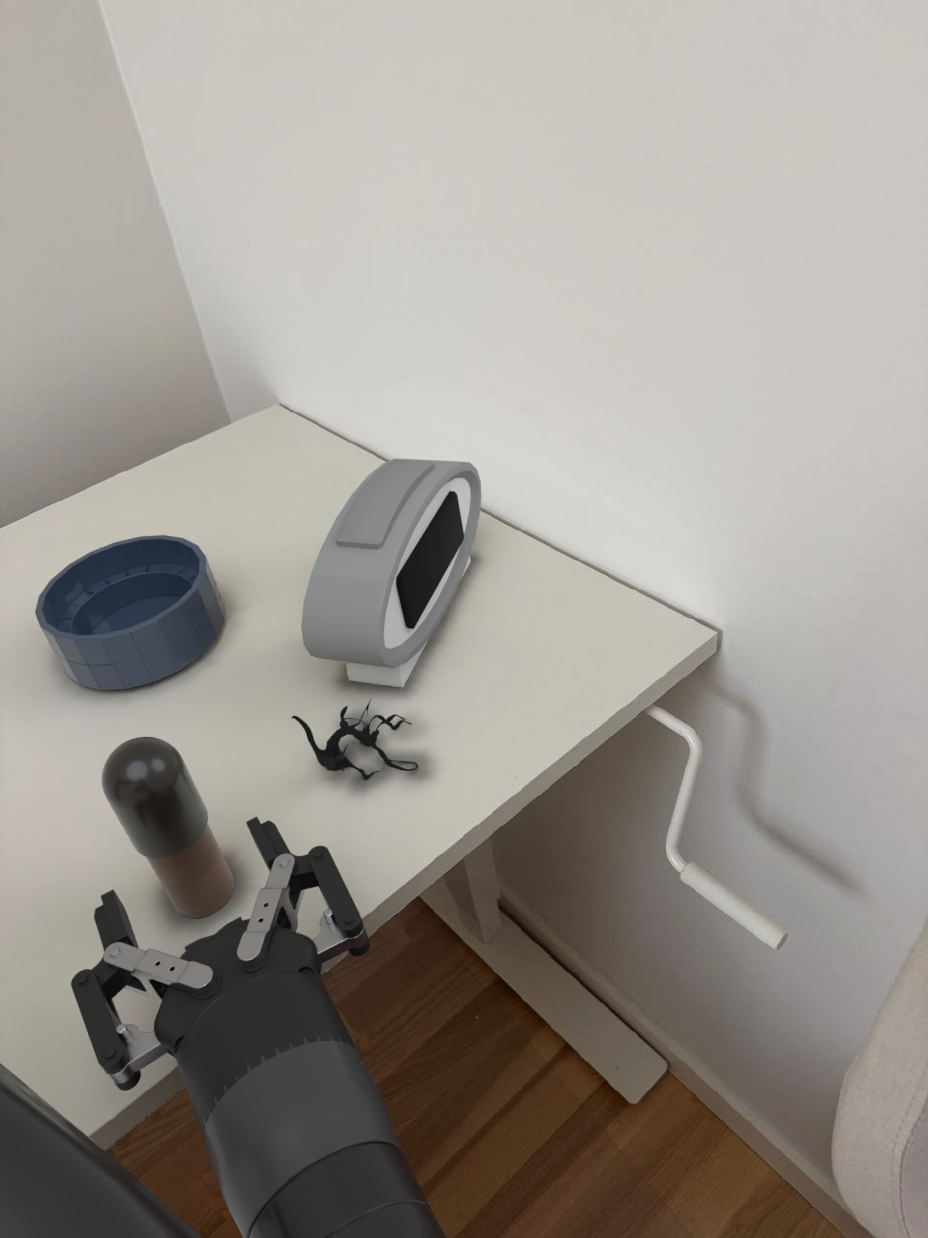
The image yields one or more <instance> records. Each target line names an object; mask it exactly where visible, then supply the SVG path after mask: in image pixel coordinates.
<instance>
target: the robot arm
mask: <svg viewBox="0 0 928 1238" xmlns="http://www.w3.org/2000/svg"><path fill="white" fill-rule="evenodd" d="M245 824H246V826H247V829H248V830H249V834H250V835H251V837H252V840H253V842H254V844H255V846H256V848H257V850H258V853H259V854H260V856H261V858H262V860H263V861H264V864H265V865H266V867H267V870H268V871H269V873H268V878H267V880H266V883H265V886H264V887H261V888H260V889H259V891H258V894H257V897H256V900H255V902H254V906H253V909H252V912H251V915H250V917H249V918H246V919H242V916H238V917H237V918H235V919H233V920H231V921H230V922H228V923H226V924H225V925H223V926H222V927H221V928H220V929H219V930H218V931H216V932H214V934H211V935H208V936H204V937H201V938H199V939H196V940H194V941H193V942H191V943H189V944H187V945H185V946H184V950H185V951H184V952H183V953H182V954H181V955H180V956H179V957H177V956H174V955H171V954H168V953H166V952H163V951H159V950H157V949H154V948H147V950H145V949H142V948H140V947H139V945H138V941H137V939H136V935H135V933H134V930H133V926H132V924H131V920H130V917H129V914H128V912H127V909H126V908H125V906H124V904H123V903H122V901H121V899H120V898H119V895H117V892H116V891H115V890H114V889H111V890H109V891H106V892H105V893H103V894H101V895H100V900H101V902H102V905H99V906H98V907H96V908H95V909H94V915H93V920H94V922H95V926H96V929H97V932H98V935H99V939H100V942H101V946H102V948H103V954H102V958H101V959H100V961H99V962H98V963H97V964H96V965H95V966H94V967H93V968H91V969H90V968H86V969H85V968H84V969H82V970H80V971H78V972H77V973H76V974H74V975H73V977H72V979H71V981H70V986H71V990H72V993H73V995H74V998H75V1001H76V1004H77V1007H78V1010H79V1012H80V1015H81V1018H82V1020H83V1023H84V1027H85V1029H86V1032H87V1035H88V1037H89V1040H90V1043H91V1046H92V1049H93V1051H94V1054H95V1056H96V1060H97V1063H98V1065H99V1066H100V1067H101V1068H102V1070H103V1071H104V1072H105V1074H106V1075H107V1076H108V1077H109V1079H110V1080H111V1081H112V1083H113V1084H114V1085H115V1086H116V1087H117V1089H118V1090H119V1091H124V1092H126V1091H130V1090H132V1089H133V1088H135V1087H136V1086H137V1085H138V1084H139V1082H140V1080H141V1078H142V1071H141V1070H142V1069H144V1068H146V1067H147V1066H149V1065H151V1064H152V1063H153V1062H155V1061H156V1060H159V1058H161V1057H162V1056H165V1055H166V1054H168V1055H170V1056H171V1057H173V1058H174V1059H175V1061H176V1064H177V1066H178V1070H179V1073H180V1076H181V1079H182V1082H183V1085H184V1088H185V1091H186V1092H187V1096H188V1099H189V1102H190V1105H191V1107H192V1111H193V1114H194V1117H195V1120H196V1122H197V1125H198V1128H199V1132H200V1134H201V1137H202V1140H203V1143H204V1146H205V1150H206V1152H207V1154H208V1158H209V1160H210V1164H211V1166H212V1170H213V1172H214V1175H215V1178H216V1182H217V1184H218V1187H219V1190H220V1193H221V1196H222V1197H223V1200H224V1203H225V1205H226V1207H227V1209H228V1211H229V1213H230V1215H231V1217H232V1219H233V1220H234V1222H235V1224H236V1226H237V1228H238V1230H239V1232H240V1234H241V1237H242V1238H447V1236H446V1234H445V1232H444V1231H443V1229H442V1227H441V1225H440V1223H439V1221H438V1220H437V1218H436V1215H435V1214H434V1211H433V1210H432V1208H431V1205H430V1203H429V1202H428V1200H427V1197H426V1195H425V1193H424V1192H423V1190H422V1187H421V1186H420V1183H419V1181H418V1180H417V1177H416V1175H415V1173H414V1172H413V1169H412V1168H411V1166H410V1164H409V1161H408V1160H407V1158H406V1156H405V1154H404V1152H403V1150H402V1148H401V1145H400V1143H399V1141H398V1139H397V1135H396V1132H395V1130H394V1127H393V1124H392V1120H391V1118H390V1117H391V1116H390V1115H389V1112H388V1109H387V1105H386V1104H385V1102H384V1100H383V1098H382V1096H381V1093H380V1091H379V1089H378V1088H377V1085H376V1081H375V1079H374V1076H373V1075H372V1073H371V1072H370V1071H369V1069H368V1068H367V1066H366V1064H365V1062H364V1060H363V1058H362V1056H361V1054H360V1052H359V1050H358V1048H357V1046H356V1045H355V1042H354V1041H353V1038H352V1036H351V1034H350V1032H349V1031H348V1029H347V1027H346V1025H345V1023H344V1020H343V1019H342V1017H341V1015H340V1012H339V1011H338V1009H337V1007H336V1005H335V1003H334V1001H333V1000H332V997H331V996H330V995H331V994H329V991H328V989H327V988H326V986H325V983H324V982H323V979H322V969H323V968H322V967H323V964H324V963H326V962H328V961H330V960H332V959H334V958H336V957H337V956H340V955H342V954H343V953H346V952H348V953H349V954H350V956H353V957H361V956H363V955H365V954H366V953H368V951H369V950H370V948H371V942H370V938H369V936H368V932H367V930H366V927H365V925H364V922H363V919H362V916H361V913H360V912H359V909H358V907H357V904H356V903H355V901H354V899H353V897H352V894H351V893H350V891H349V889H348V887H347V885H346V883H345V881H344V878H343V876H342V874H341V873H340V871H339V868H338V866H337V864H336V863H335V860H334V858H333V857H332V855H331V852H330V850H329V849H328V847H326V846H324V845H316V846H314V847H312V848H311V849H310V850H309V851H308V853H307V854H303V855H297V854H296V855H295V854H293V853H292V852H291V851H290V849H289V847H288V846H287V844H286V842H285V840H284V838H283V836H282V834H281V833H280V831H279V829H278V827H277V825H276V823H274V822H272V821H271V820H269V819H268V820H266V821H264V822H262V823H261V821H260V819H259V818H258V816H254V817H253V818H251V819H249V820H247V821H246V822H245ZM313 888H319V891H320V893H321V895H322V897H323V899H324V902H325V903H326V906H327V908H326V909H325V910H324V911H323V914H322V916H321V917H320V920H319V926H320V930H319V933H318V935H317V936H316V937H314V938H313V939H312V938H311V937H309V936H308V935H306V934H302V933H300V932H298V931H297V930H298V926H299V919H298V917H299V916H298V915H299V911H300V907H301V903H302V900H303V898H304V894H305V890H309V889H313ZM123 989H127V990H130V991H132V992H135V993H137V994H140V995H142V996H146V997H147V998H150V999H151V1001H153V1002H155V1003H156V1004H158V1005H159V1008H158V1010H157V1013H156V1016H155V1018H154V1022H153V1029H152V1030H150V1031H141V1030H140V1029H139V1028H138V1026H137V1025H135V1024H133V1023H128V1024H127V1023H123V1022H122V1020H121V1018H120V1015H119V1011H118V1010H117V1007H116V1005H115V1002H114V999H113V998H114V997H116V996H117V995H118V994H120V992H121V991H123ZM0 1238H203V1237H202V1236H201V1235H200V1234H199V1233H197V1232H196V1231H195V1230H194V1229H193V1228H192V1227H191V1226H190V1225H189V1224H188V1223H186V1221H184V1220H183V1219H182V1218H181V1217H180V1216H179V1215H178V1214H177V1213H176V1212H175V1211H174V1210H172V1208H170V1207H169V1206H168V1205H167V1204H166V1203H165V1202H164V1201H162V1199H160V1198H159V1197H158V1196H157V1195H156V1194H155V1193H153V1192H152V1191H151V1190H150V1189H149V1188H148V1187H147V1186H146V1185H145V1184H144V1183H143V1182H141V1180H139V1178H137V1177H136V1176H135V1175H134V1174H132V1172H130V1171H129V1170H128V1169H127V1168H126V1167H125V1166H124V1165H122V1164H121V1163H120V1162H119V1161H118V1160H117V1159H115V1157H113V1156H112V1155H111V1154H110V1153H109V1152H108V1151H106V1150H105V1149H104V1148H103V1147H102V1146H101V1145H99V1144H98V1143H97V1142H96V1141H95V1140H93V1139H92V1138H91V1137H90V1136H88V1135H87V1134H86V1133H85V1132H84V1131H82V1130H81V1129H80V1128H78V1127H77V1126H76V1125H75V1124H74V1123H73V1122H71V1121H70V1120H69V1119H67V1117H65V1116H64V1115H63V1114H62V1113H60V1111H58V1110H57V1109H56V1108H54V1107H53V1105H51V1104H50V1103H48V1102H47V1101H46V1100H45V1099H44V1098H43V1097H42V1096H41V1095H39V1094H38V1093H37V1092H35V1090H34V1089H32V1088H31V1087H30V1086H29V1085H28V1084H26V1083H25V1082H24V1081H23V1080H21V1079H20V1078H19V1077H18V1076H17V1075H16V1074H15V1073H13V1072H12V1071H11V1070H10V1069H8V1068H7V1067H6V1066H5V1065H4V1064H3V1063H1V1062H0Z"/></svg>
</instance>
